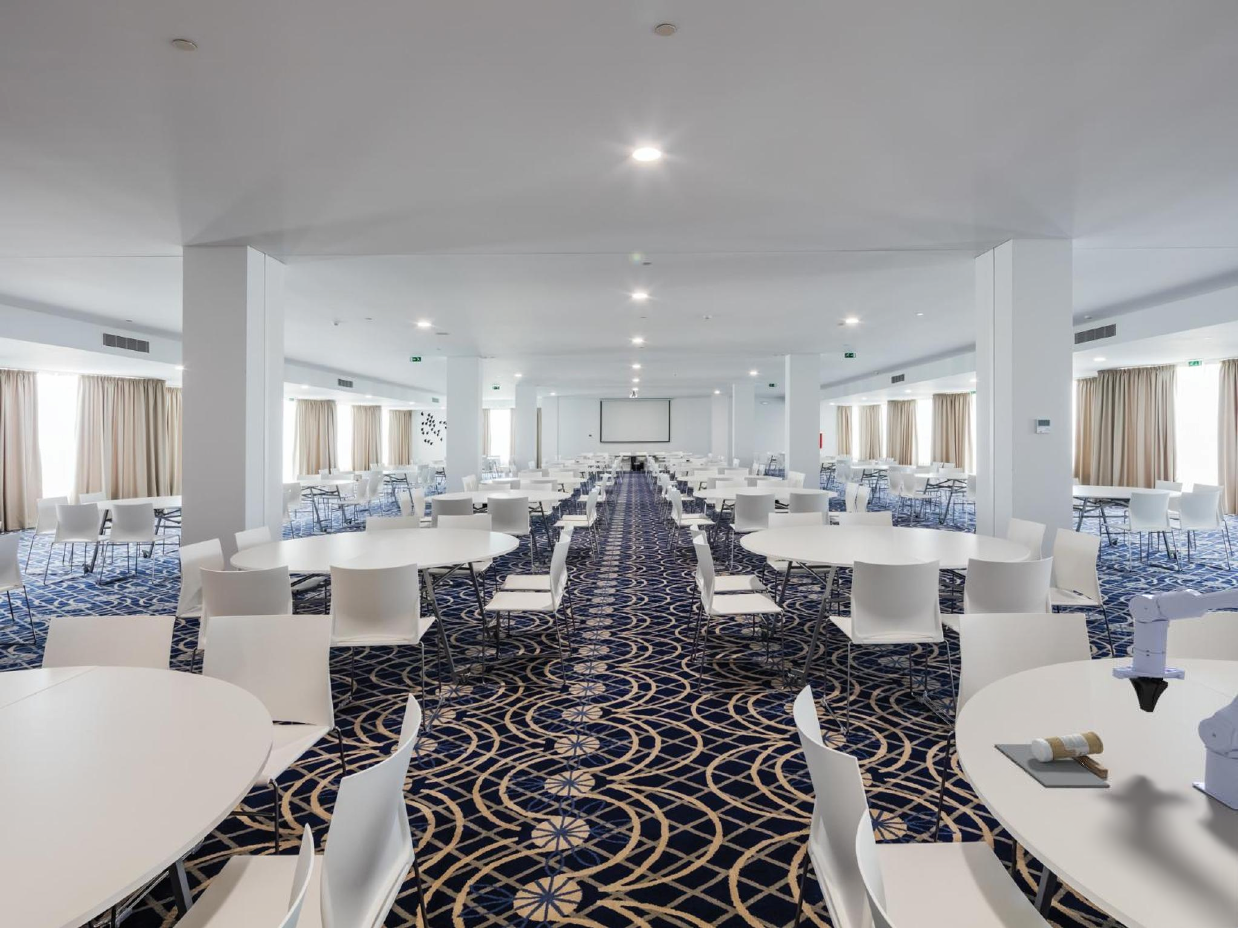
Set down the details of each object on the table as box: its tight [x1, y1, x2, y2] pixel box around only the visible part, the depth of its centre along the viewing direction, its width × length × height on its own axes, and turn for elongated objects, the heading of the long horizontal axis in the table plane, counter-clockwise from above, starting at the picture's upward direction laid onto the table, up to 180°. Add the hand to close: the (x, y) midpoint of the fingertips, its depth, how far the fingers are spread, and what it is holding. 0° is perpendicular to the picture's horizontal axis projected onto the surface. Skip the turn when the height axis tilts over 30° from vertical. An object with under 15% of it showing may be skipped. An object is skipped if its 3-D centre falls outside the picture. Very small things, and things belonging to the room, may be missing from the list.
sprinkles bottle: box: [1031, 731, 1104, 762], centre depth 148 cm, size 5×5×14 cm
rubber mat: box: [994, 743, 1111, 788], centre depth 146 cm, size 18×13×1 cm
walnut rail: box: [1072, 755, 1109, 778], centre depth 146 cm, size 10×2×2 cm, turn 1°
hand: (1146, 710), depth 150 cm, fingers closed
